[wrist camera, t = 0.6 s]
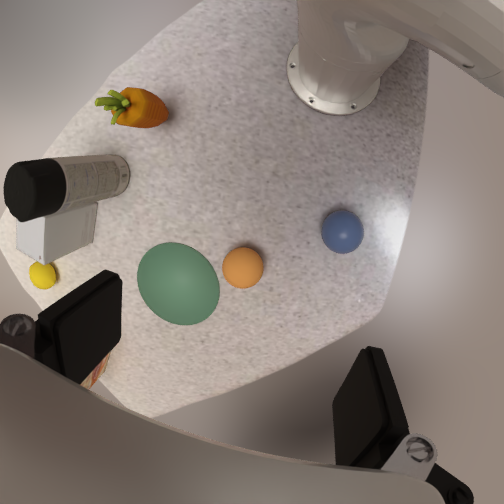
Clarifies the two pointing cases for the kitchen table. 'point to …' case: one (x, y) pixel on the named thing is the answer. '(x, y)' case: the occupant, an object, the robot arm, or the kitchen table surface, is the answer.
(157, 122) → the carrot
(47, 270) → the lemon
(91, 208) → the supplement box
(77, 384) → the robot arm
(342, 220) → the blue ball
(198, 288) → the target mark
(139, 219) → the kitchen table surface
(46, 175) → the spray can
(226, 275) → the object ball
